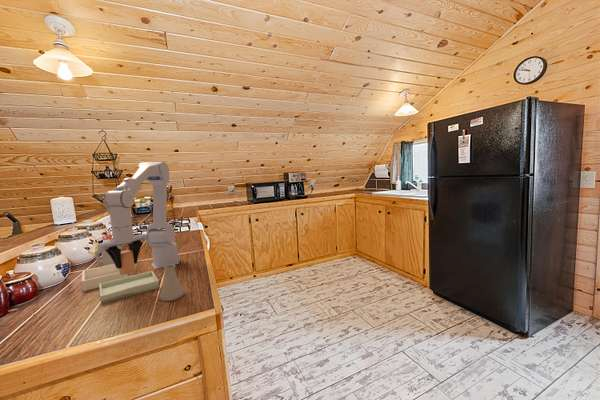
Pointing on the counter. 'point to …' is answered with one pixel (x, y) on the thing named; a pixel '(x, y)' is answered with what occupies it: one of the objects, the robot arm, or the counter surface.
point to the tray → (127, 286)
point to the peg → (127, 262)
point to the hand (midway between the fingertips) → (126, 265)
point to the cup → (105, 257)
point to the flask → (171, 285)
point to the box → (100, 276)
